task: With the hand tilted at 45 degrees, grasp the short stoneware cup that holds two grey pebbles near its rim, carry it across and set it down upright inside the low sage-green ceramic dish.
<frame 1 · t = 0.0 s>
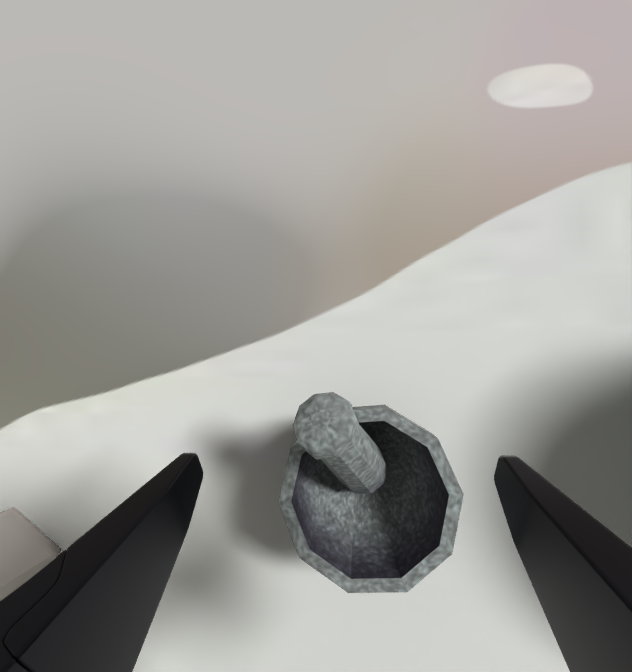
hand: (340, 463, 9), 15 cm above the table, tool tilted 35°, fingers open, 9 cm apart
tumbler: (17, 556, 26), on the table, touching pebble 1
mortar and pestle: (359, 451, 24), on the table
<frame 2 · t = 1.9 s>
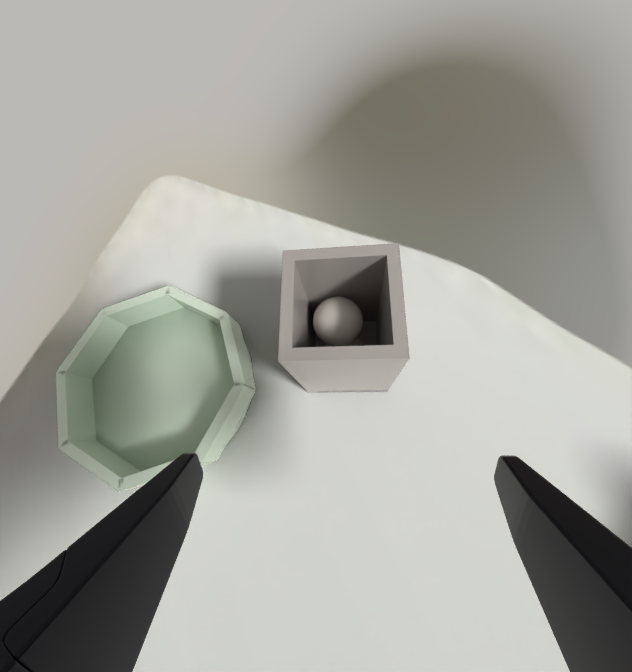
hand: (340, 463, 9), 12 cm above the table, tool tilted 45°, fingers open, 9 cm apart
tumbler: (346, 353, 23), on the table, touching pebble 1, pebble 2
pebble 2: (337, 321, 19), point 5 cm above the table, tilted 69°, touching pebble 1, tumbler
dish: (170, 385, 24), on the table
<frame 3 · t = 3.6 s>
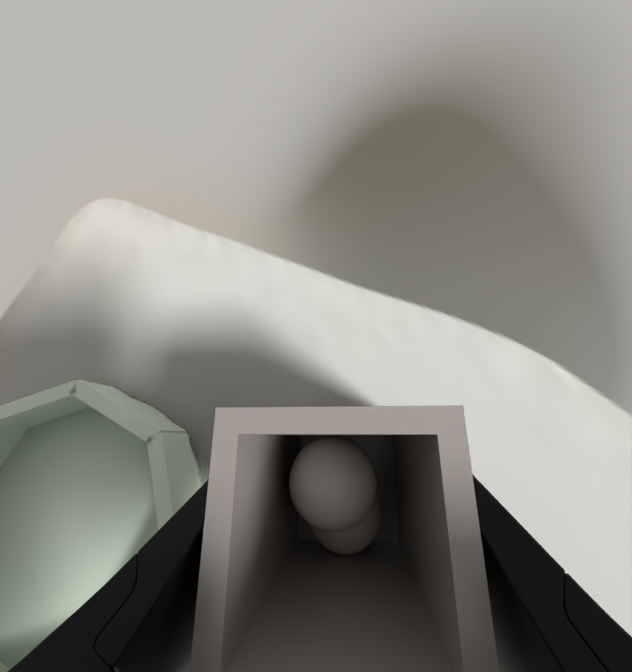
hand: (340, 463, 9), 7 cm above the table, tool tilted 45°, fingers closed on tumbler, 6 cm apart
tumbler: (346, 483, 15), on the table, touching gripper, pebble 1, pebble 2
pebble 2: (332, 481, 11), point 5 cm above the table, tilted 69°, touching pebble 1, tumbler
pebble 1: (344, 510, 13), point 2 cm above the table, tilted 27°, touching pebble 2, tumbler
dish: (84, 524, 16), on the table
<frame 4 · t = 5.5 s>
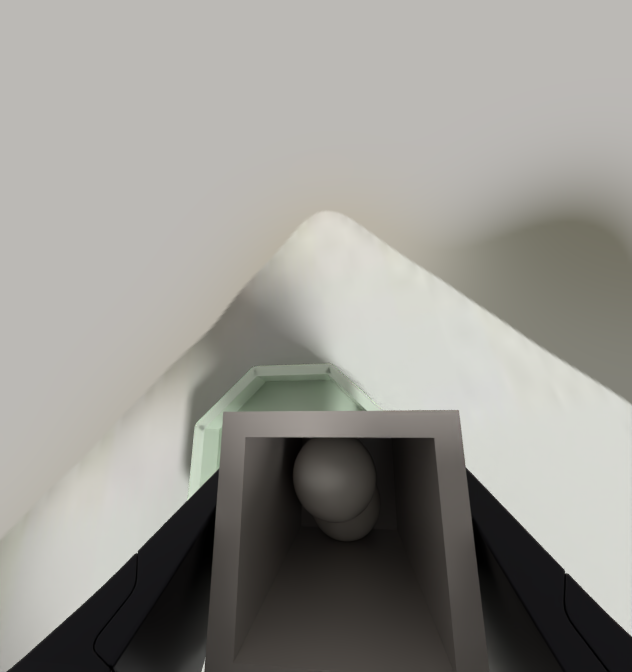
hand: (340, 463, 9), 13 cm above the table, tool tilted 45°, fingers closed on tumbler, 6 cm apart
tumbler: (347, 473, 16), point 6 cm above the table, touching gripper, pebble 1, pebble 2
pebble 2: (334, 474, 11), point 11 cm above the table, tilted 66°, touching pebble 1, tumbler
pebble 1: (345, 500, 14), point 8 cm above the table, tilted 29°, touching pebble 2, tumbler
dish: (298, 463, 22), on the table
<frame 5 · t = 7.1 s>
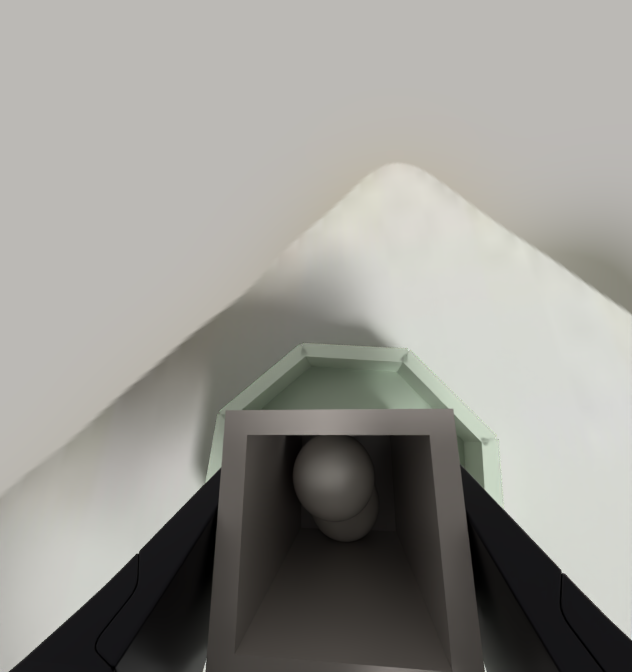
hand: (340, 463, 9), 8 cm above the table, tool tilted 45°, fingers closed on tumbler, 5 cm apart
tumbler: (346, 475, 16), point 1 cm above the table, touching dish, gripper, pebble 1, pebble 2
pebble 2: (333, 474, 12), point 6 cm above the table, tilted 67°, touching pebble 1, tumbler
pebble 1: (344, 501, 14), point 3 cm above the table, tilted 29°, touching pebble 2, tumbler
dish: (347, 478, 17), on the table
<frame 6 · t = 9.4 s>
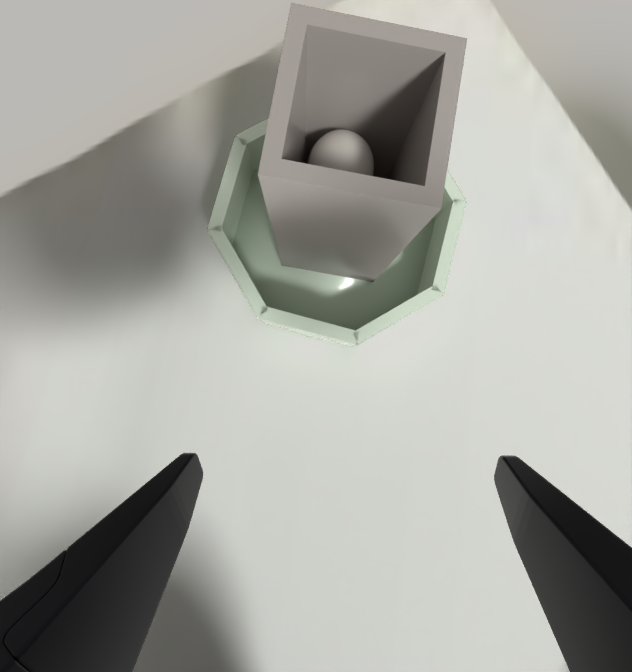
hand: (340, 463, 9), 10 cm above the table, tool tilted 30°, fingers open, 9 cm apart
tumbler: (335, 229, 19), point 1 cm above the table, touching dish, pebble 1, pebble 2
pebble 2: (340, 168, 14), point 6 cm above the table, tilted 69°, touching pebble 1, tumbler
dish: (333, 236, 20), on the table
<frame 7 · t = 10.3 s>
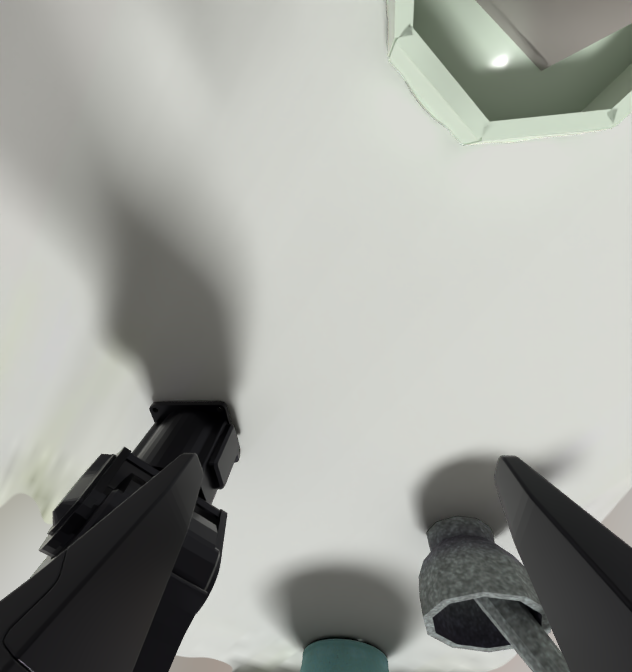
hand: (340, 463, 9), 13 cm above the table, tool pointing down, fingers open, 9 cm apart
flower pot: (344, 652, 46), on the table
mortar and pestle: (465, 534, 31), on the table
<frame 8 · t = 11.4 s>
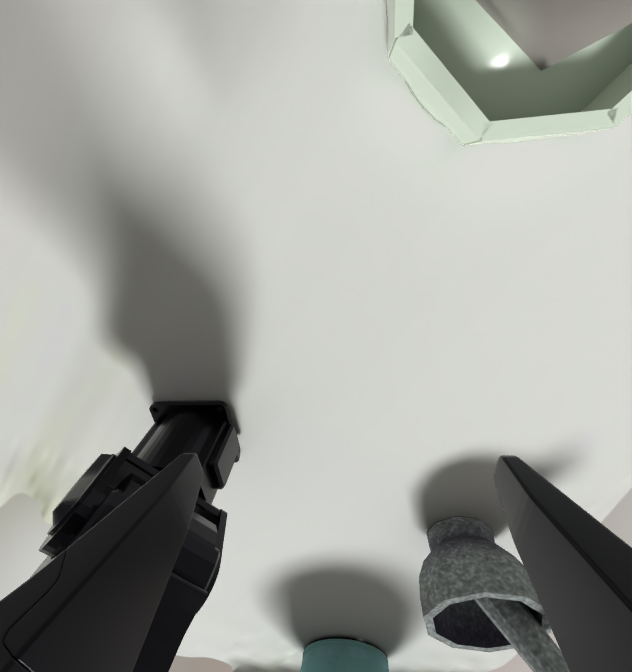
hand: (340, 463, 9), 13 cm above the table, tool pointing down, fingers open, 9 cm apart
flower pot: (345, 652, 46), on the table
mortar and pestle: (465, 534, 31), on the table
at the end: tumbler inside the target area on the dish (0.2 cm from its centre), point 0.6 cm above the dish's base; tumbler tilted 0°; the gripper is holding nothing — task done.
